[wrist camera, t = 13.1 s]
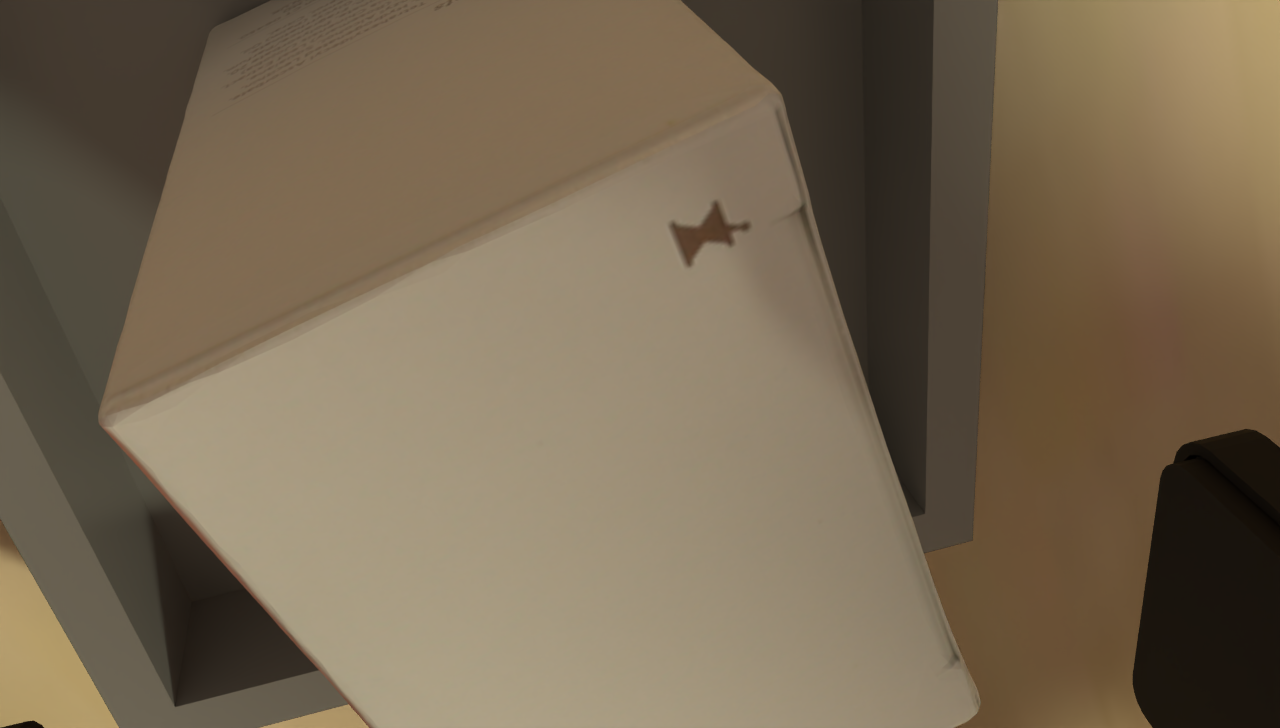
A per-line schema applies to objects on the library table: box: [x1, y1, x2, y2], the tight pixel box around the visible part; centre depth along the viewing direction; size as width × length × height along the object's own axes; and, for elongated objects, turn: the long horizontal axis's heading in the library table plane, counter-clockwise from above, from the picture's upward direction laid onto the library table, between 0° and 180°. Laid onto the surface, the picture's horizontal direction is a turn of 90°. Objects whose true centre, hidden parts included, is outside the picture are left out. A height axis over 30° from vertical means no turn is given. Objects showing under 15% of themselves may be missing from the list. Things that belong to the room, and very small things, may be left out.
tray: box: [0, 0, 998, 728], centre depth 18 cm, size 16×17×4 cm
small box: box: [98, 0, 981, 728], centre depth 14 cm, size 8×6×10 cm
